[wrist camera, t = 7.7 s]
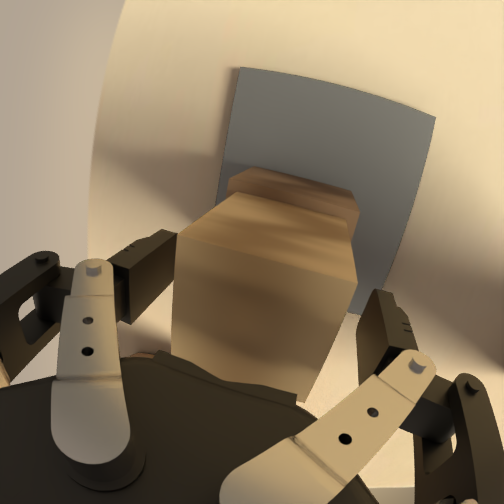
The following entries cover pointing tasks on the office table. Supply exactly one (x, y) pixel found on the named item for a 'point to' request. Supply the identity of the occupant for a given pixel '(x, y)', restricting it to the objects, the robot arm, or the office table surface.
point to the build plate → (334, 155)
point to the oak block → (261, 292)
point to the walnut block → (297, 193)
